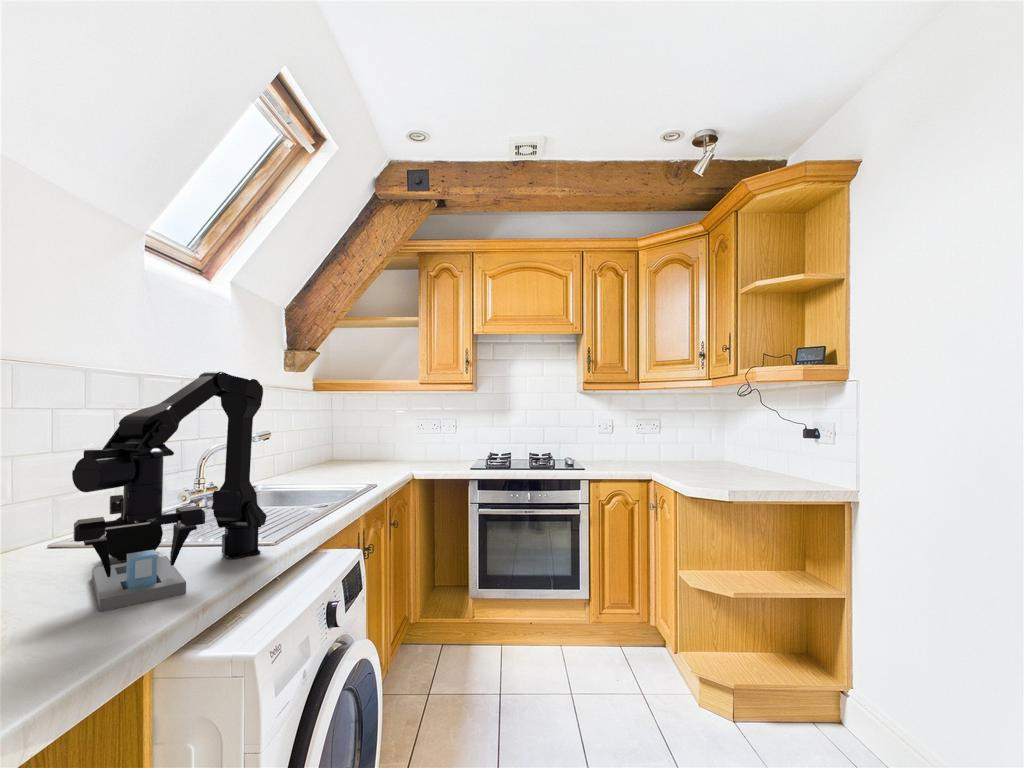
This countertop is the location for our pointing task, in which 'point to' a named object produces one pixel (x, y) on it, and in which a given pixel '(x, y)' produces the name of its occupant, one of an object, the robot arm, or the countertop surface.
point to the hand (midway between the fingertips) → (141, 570)
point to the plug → (141, 569)
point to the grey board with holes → (116, 594)
